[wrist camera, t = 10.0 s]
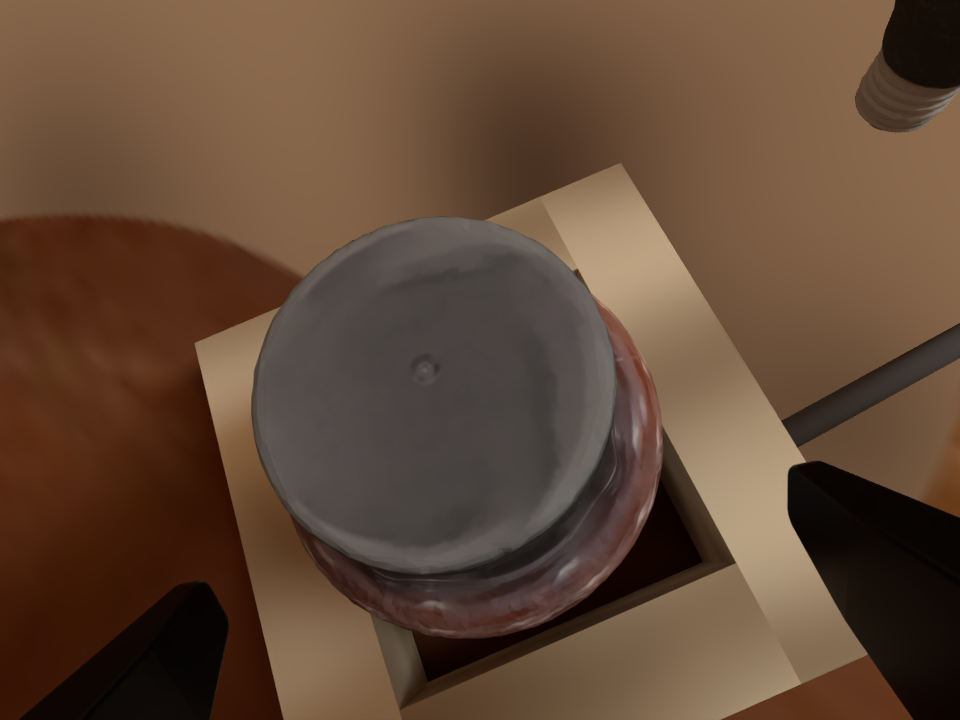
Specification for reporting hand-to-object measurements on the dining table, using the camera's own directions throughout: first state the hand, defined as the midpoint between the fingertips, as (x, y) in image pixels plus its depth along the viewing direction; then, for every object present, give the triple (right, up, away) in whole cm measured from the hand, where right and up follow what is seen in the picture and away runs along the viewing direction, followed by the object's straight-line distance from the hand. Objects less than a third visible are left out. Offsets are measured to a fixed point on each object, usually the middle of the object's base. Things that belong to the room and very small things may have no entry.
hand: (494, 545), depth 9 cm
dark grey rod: (+13, +3, +8) cm, 16 cm away
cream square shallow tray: (+1, -1, +8) cm, 8 cm away
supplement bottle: (+1, -1, +8) cm, 8 cm away
